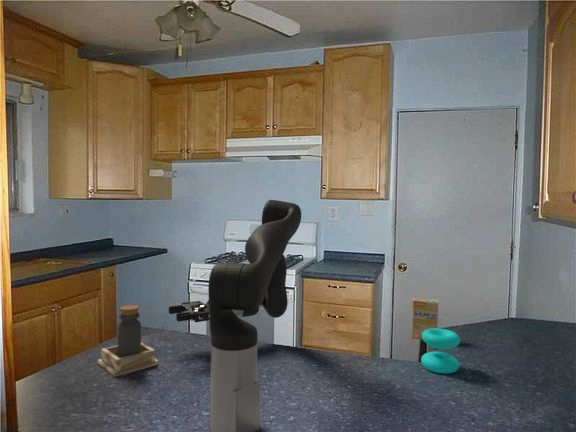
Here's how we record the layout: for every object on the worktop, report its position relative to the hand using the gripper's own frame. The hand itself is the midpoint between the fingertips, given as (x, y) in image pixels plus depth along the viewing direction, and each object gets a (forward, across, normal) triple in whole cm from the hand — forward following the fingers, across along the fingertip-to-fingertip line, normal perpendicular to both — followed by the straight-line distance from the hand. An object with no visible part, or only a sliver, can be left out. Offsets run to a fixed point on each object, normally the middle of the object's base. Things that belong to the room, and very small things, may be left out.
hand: (172, 313), depth 120 cm
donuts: (-63, +42, +13) cm, 77 cm away
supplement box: (-79, +22, +12) cm, 83 cm away
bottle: (+12, +1, +12) cm, 17 cm away
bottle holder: (+12, 0, +13) cm, 17 cm away
